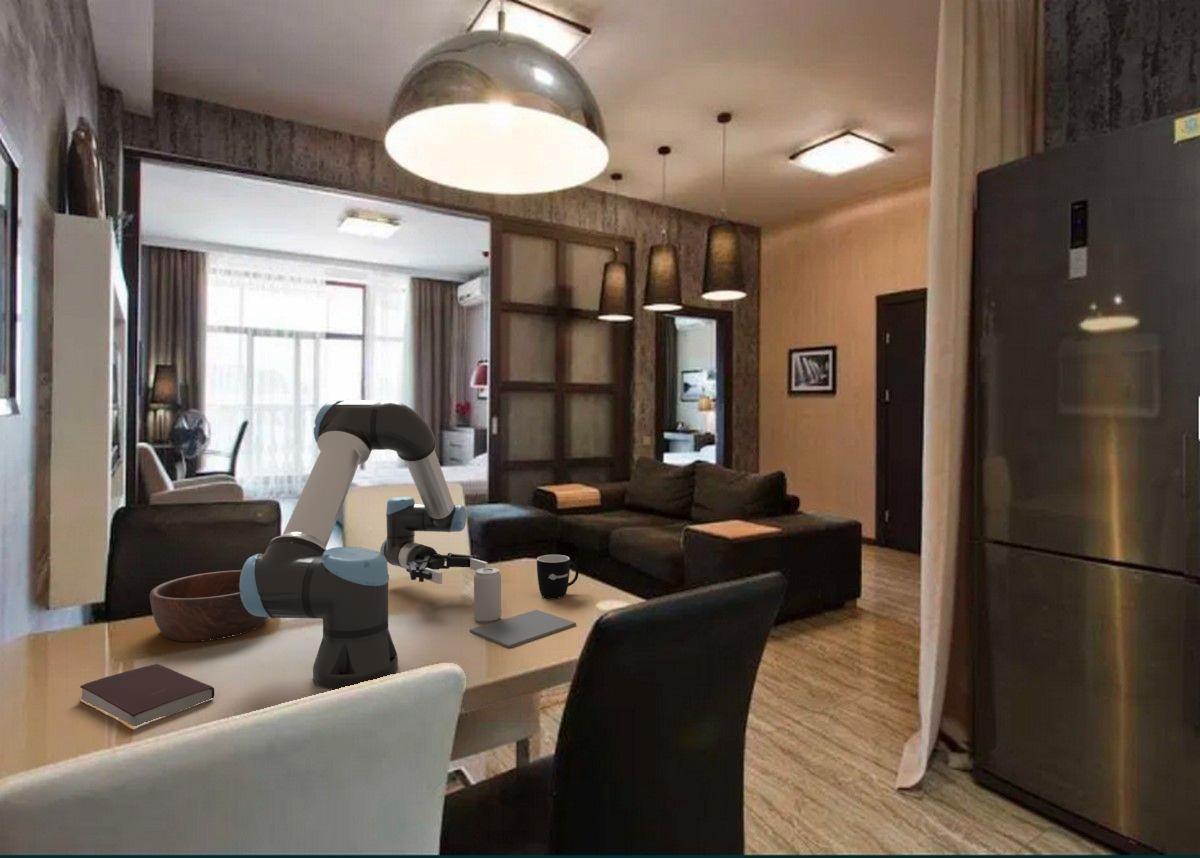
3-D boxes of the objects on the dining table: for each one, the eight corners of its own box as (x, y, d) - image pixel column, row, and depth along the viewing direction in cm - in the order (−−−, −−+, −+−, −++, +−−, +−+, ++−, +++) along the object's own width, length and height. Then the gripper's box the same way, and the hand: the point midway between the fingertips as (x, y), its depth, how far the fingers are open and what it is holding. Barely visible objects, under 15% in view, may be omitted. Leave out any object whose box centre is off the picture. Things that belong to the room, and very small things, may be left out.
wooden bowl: (208, 654, 130) (207, 604, 130) (122, 639, 138) (121, 592, 138) (301, 616, 154) (301, 574, 154) (223, 606, 162) (223, 566, 162)
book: (159, 677, 120) (159, 660, 120) (215, 701, 110) (215, 683, 110) (78, 704, 109) (78, 685, 109) (132, 733, 99) (131, 713, 99)
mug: (544, 602, 167) (544, 563, 166) (531, 593, 174) (531, 556, 174) (585, 595, 172) (585, 558, 172) (571, 587, 180) (571, 552, 180)
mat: (508, 648, 134) (508, 645, 134) (469, 632, 144) (469, 629, 144) (575, 625, 149) (575, 622, 149) (536, 611, 158) (536, 609, 158)
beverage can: (502, 615, 156) (502, 566, 155) (499, 624, 149) (499, 573, 149) (476, 615, 155) (476, 566, 155) (471, 624, 149) (471, 573, 149)
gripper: (457, 563, 183) (503, 577, 168) (376, 581, 165) (420, 598, 150) (457, 537, 183) (503, 549, 168) (375, 552, 164) (419, 567, 150)
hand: (464, 573), depth 159 cm, fingers open, 13 cm apart
